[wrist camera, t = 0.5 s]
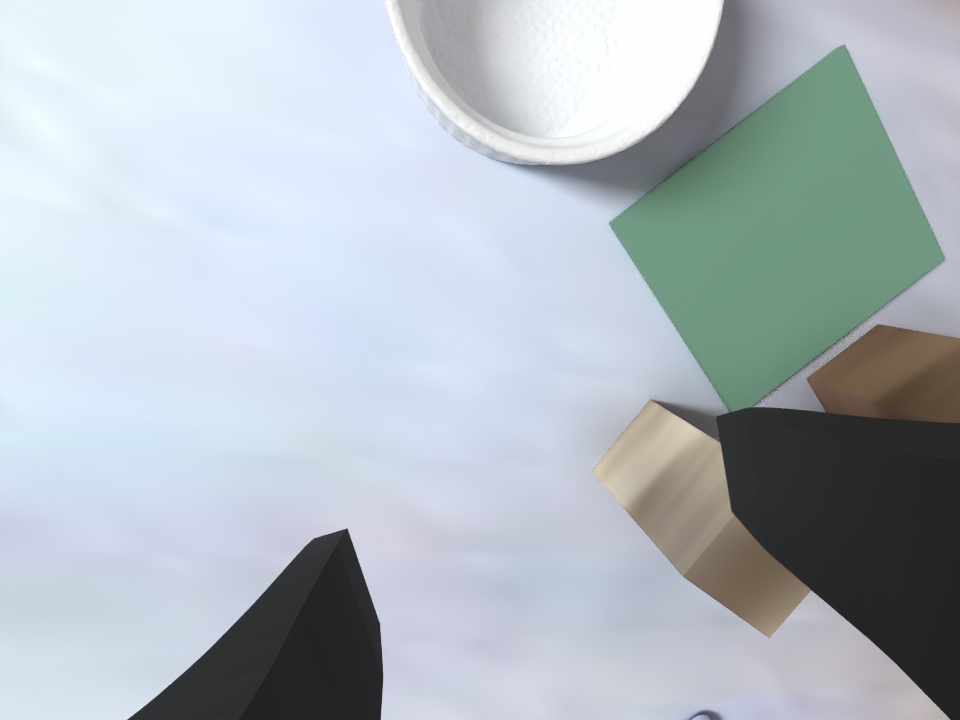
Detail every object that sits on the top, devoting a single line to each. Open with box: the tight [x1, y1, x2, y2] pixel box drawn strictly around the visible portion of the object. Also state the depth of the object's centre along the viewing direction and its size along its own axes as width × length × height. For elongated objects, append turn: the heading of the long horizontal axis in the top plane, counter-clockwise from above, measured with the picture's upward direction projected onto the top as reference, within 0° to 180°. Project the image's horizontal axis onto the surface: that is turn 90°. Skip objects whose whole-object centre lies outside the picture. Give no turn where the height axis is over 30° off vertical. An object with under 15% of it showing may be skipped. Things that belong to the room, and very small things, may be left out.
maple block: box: [592, 400, 811, 638], centre depth 19 cm, size 4×4×7 cm
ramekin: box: [384, 0, 724, 165], centre depth 16 cm, size 9×9×4 cm
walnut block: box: [807, 325, 960, 423], centre depth 19 cm, size 4×4×7 cm
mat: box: [609, 44, 945, 412], centre depth 21 cm, size 9×10×1 cm
